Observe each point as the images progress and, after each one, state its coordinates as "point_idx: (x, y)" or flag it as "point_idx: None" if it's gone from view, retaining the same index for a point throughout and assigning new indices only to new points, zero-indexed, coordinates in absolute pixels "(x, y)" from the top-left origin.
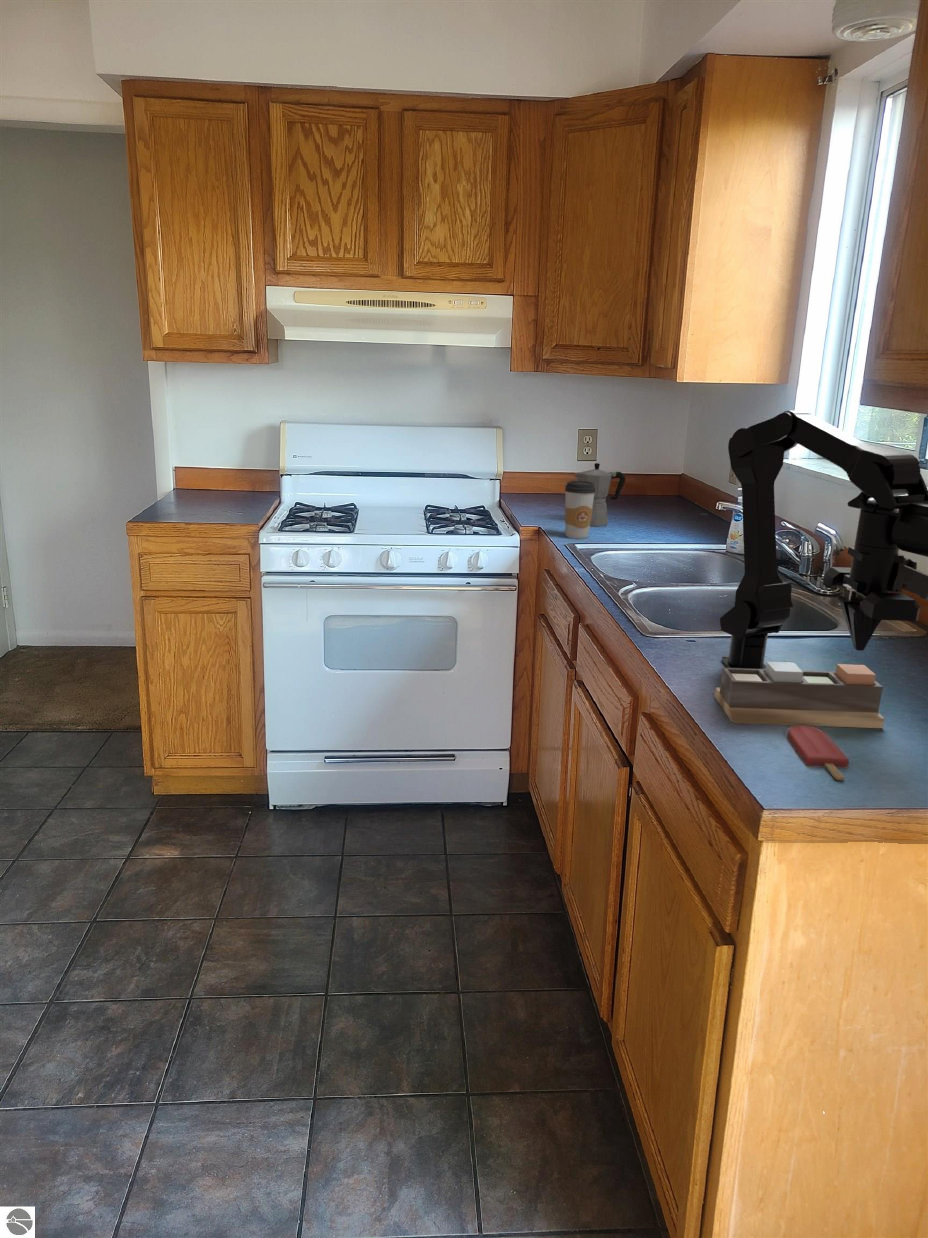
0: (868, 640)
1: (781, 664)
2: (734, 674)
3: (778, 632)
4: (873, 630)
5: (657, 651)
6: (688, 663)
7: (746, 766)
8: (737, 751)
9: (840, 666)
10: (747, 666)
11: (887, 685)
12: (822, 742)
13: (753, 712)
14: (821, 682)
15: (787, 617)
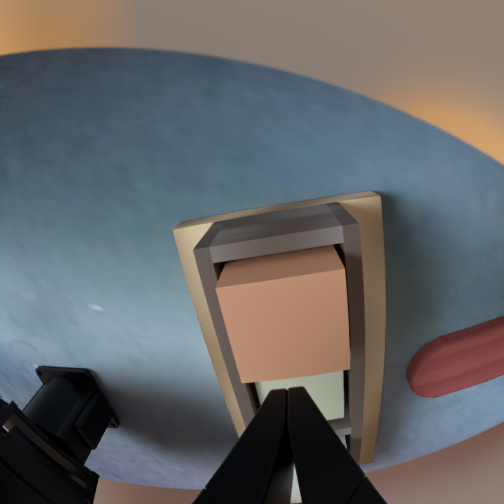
0: (332, 428)
1: (294, 485)
2: (293, 500)
3: (12, 401)
4: (368, 486)
5: (92, 468)
6: (114, 456)
7: (494, 419)
8: (459, 433)
9: (267, 378)
10: (108, 417)
11: (43, 117)
12: (484, 352)
13: (369, 445)
14: (313, 392)
15: (8, 439)
